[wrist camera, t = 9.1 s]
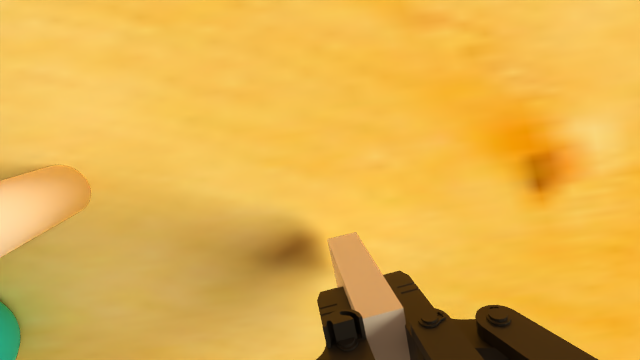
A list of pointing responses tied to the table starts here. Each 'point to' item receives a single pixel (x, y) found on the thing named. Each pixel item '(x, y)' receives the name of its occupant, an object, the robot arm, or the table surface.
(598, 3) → the table surface
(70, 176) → the post
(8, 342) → the ball
